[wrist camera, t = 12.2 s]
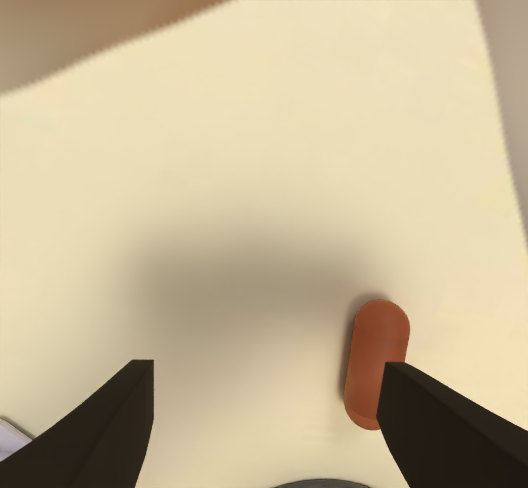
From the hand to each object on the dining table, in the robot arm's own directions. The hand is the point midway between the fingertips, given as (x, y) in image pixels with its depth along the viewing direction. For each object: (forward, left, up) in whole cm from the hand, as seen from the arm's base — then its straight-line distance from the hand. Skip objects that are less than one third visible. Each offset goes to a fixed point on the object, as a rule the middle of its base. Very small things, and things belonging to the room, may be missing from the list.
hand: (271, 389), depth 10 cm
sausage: (+2, -8, -8) cm, 12 cm away
